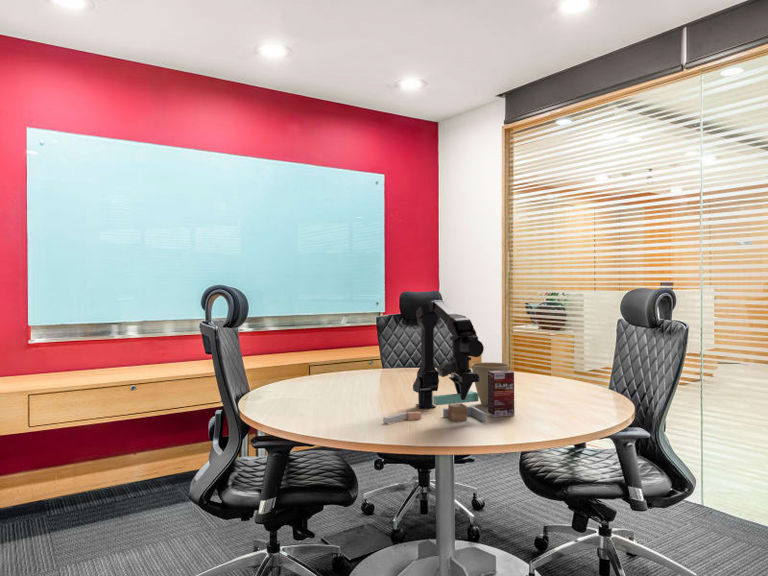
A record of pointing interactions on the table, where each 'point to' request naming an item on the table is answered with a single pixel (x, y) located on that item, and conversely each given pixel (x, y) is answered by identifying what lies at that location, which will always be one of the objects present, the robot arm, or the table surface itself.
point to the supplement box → (501, 393)
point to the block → (457, 412)
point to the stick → (395, 418)
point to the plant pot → (486, 377)
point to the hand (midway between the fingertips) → (461, 399)
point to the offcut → (414, 415)
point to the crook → (455, 398)
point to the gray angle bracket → (469, 413)
